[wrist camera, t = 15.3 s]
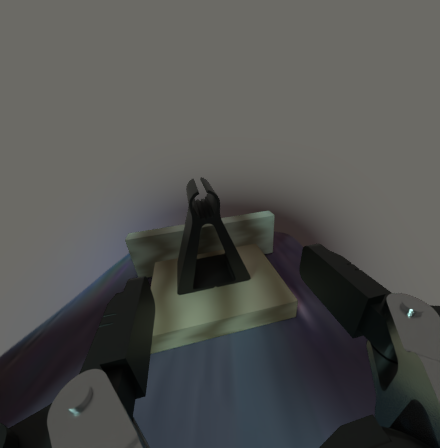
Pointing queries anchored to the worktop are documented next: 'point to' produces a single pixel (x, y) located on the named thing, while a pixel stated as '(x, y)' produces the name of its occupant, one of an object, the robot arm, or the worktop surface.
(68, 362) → the worktop surface
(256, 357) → the worktop surface
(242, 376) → the worktop surface
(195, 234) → the phone stand
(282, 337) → the worktop surface
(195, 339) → the wall board
